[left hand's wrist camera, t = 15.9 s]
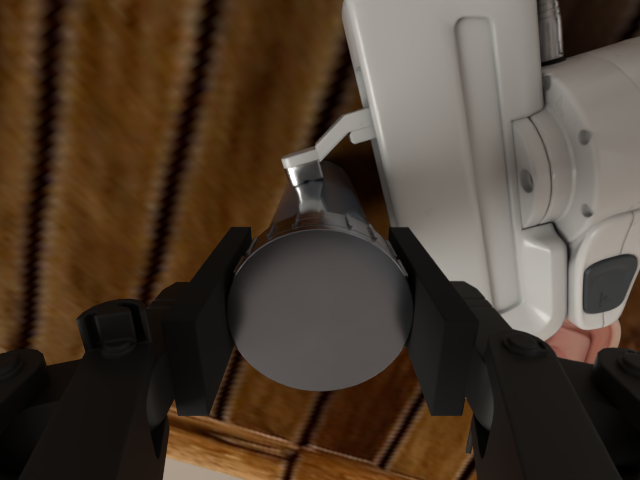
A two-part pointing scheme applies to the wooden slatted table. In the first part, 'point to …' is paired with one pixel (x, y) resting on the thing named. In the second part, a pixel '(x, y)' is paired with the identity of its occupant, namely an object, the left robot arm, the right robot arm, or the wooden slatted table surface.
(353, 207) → the jar
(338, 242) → the lid
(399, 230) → the left robot arm
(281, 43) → the wooden slatted table surface
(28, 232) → the wooden slatted table surface
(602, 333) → the anatomical model
